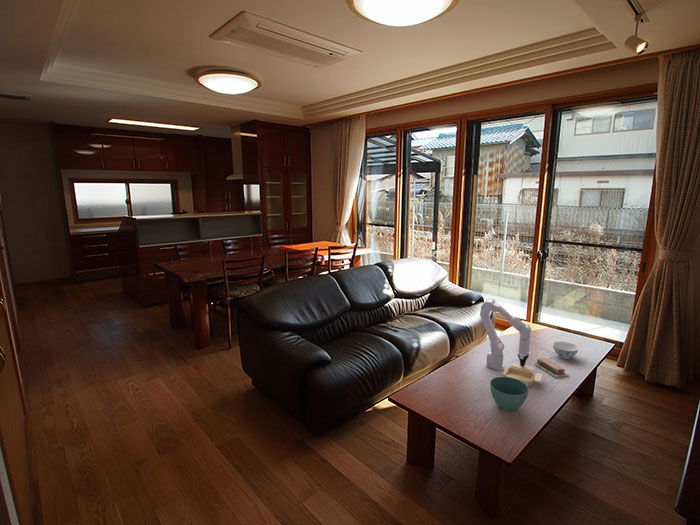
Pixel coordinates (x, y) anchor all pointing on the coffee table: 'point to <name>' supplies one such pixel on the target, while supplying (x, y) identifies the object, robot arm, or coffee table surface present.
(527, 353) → the robot arm
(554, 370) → the packaged product
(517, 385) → the teal green bowl
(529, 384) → the carton
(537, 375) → the far flap
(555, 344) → the chinaware
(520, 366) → the left flap
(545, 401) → the coffee table surface
